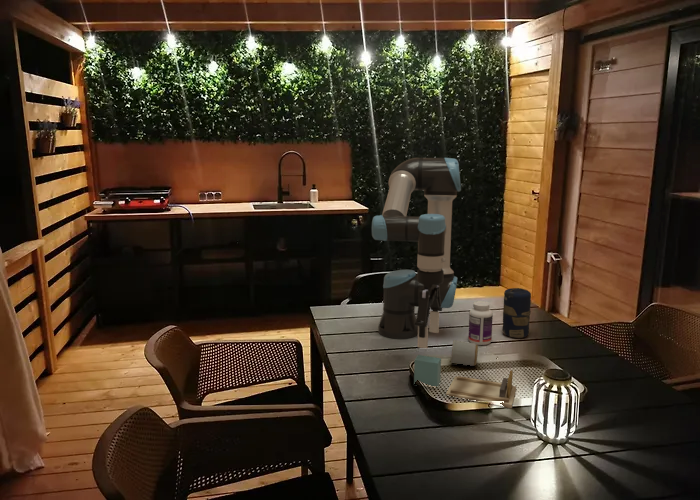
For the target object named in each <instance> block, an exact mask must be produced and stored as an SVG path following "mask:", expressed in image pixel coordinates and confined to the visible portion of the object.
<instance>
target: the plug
mask: <svg viewBox="0 0 700 500" xmlns="http://www.w3.org/2000/svg"><path fill="white" fill-rule="evenodd" d="M413 368H414V369H413V370H414V371H413V385H414V384H415V382H416V381H417V380H419V381H421V382H423V383H425V384H428V385H431V386H436V387H437V386H438V385H439V383H440V384H441V377H442V375H441V373H442V372H441V370H442V358H441V357H440V358H439V357H434V356H429V355H428V356H427V355H421V354H418V355H417V356H416V357H415V358H414V367H413ZM439 386H440V385H439Z"/></svg>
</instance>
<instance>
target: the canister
mask: <svg viewBox="0 0 700 500" xmlns="http://www.w3.org/2000/svg"><path fill="white" fill-rule="evenodd" d="M503 294H504V295H503V311H502V328H501V330H502V333H503V334H504V335H506V336H507V337H510V338H514V339H515V338H517V339H521V338H526V337H527V336H528V335H529V332H530V321H531V320H530V318H531V312H532V311H531V305H532V301H531V300H532V293H531V291H529V290H527V289H525V288H521V287H512V288H507V289H505V291H504V292H503Z"/></svg>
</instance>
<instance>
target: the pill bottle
mask: <svg viewBox="0 0 700 500" xmlns="http://www.w3.org/2000/svg"><path fill="white" fill-rule="evenodd" d="M472 306H473V308H471V309H470V310H469V314H468V315H469V317H468V320H469V321H468V342H469V343H474V344H476V345H478V346H486V345H489V344H491V342H492V341H493V340H492V339H493V336H492V335H493V317H494V315H493V314H494V313H493V311H492V310H491V309H490V303H489V302H487V301H484V300H483V301H478V300H477V301H474V302H473V305H472Z"/></svg>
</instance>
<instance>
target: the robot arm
mask: <svg viewBox="0 0 700 500" xmlns="http://www.w3.org/2000/svg"><path fill="white" fill-rule="evenodd" d="M390 173H391V174H390V175H389V178H388V187H389V189H388V192H387V197H386V199H385V203H384V206H383V210H382V214H380V215H375V216H373V217H372V221H371V236H372V238H373V240H375V241H384V242H389V241H390V242H414V243H415V242H416V243H417V258H416V259H417V261H416V262H417V263H416V266H417V268H418V269H417V272H416V271H415V270H413V269H399V270H393V271H390V272H389V271H388V273H386V274H385V275H384V277H383V285H382V287H383V302H382V303H383V304H382V305H383V308H382V310H383V311H382V314H381V317H380V321H379V323H378V329H377V330H378V333H379V335H381V336H383V337H386V338H389V339H397V340H399V339H400V340H401V339H411V338H414V337H416V336H417V348H421V349H428V346H429V345H428V342H429V333H435V334H439V331H440V312H442V311H443V309H450V308H452V307H453V305H454V303H455V296H456V291H457V283H458V277H457V276H455V275H454V273H455V272H454V270H453V269H452V268H451V247H452V246H451V244H452V243H451V240H452V220H453V219H452V216H453V201H454V200H455V199H456V198H457V196H458V195H457V194H458V193H459V192H461V191H462V186H461V176H460V175H461V174H460V165H459V161H458V159H456V158H451V157H412V158H409V159H407V160H405V161H402V162H401V163H399V164H398V165H397V166H396V167H395V168H394V169H393V170H392V171H391V172H390ZM414 191H424V192H423V196H424V198H426V199H427V213H425V214H421V215H420V216H408V215H407V214H408V210H409V204H410V200H411V196H412V195H411V194H412V193H413V192H414ZM416 308H417V312H416V313H417V314H415V309H416ZM428 321H429V325H428Z"/></svg>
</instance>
